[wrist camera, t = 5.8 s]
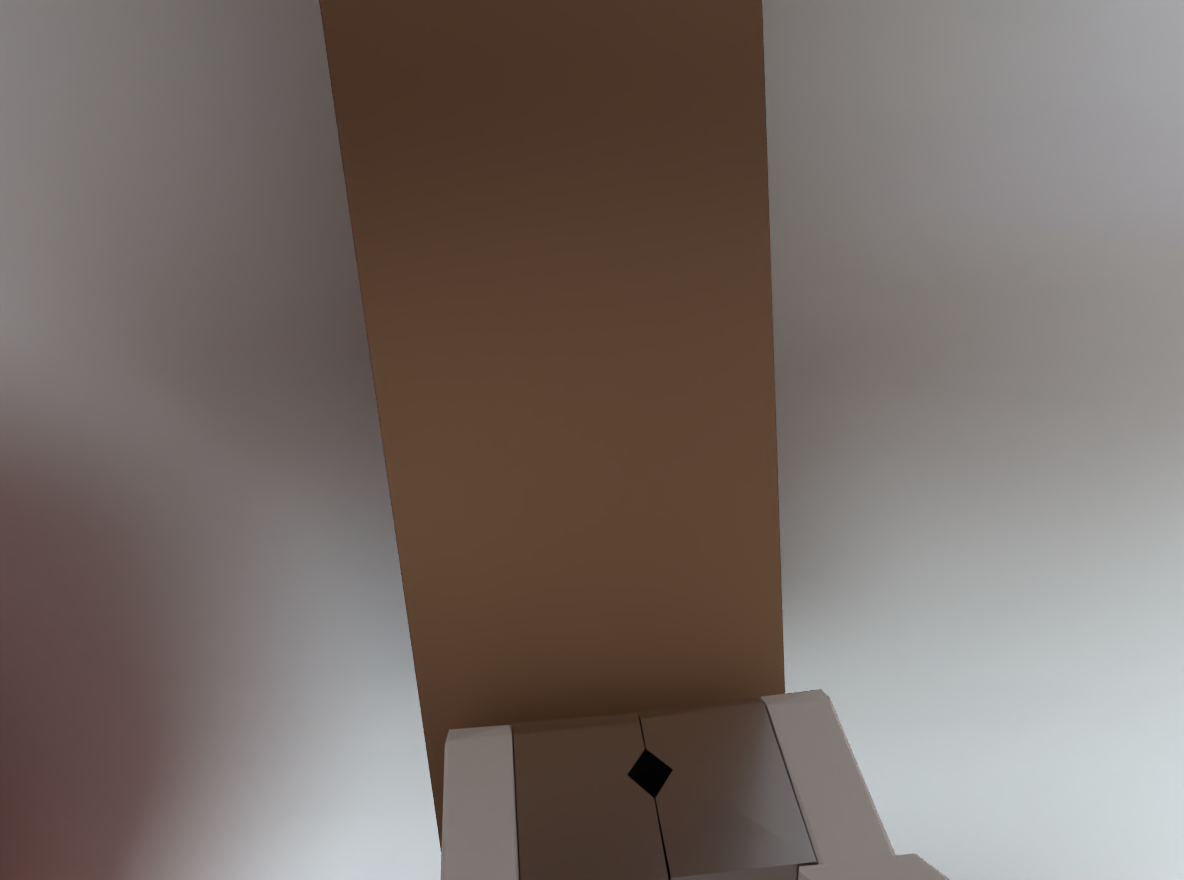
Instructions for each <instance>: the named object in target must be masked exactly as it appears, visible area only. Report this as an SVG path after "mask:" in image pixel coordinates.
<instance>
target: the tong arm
mask: <svg viewBox="0 0 1184 880" xmlns="http://www.w3.org/2000/svg"><path fill="white" fill-rule="evenodd" d="M319 2H320V9H321V16H322V23H323V30H324V37H325V44H326V51H327V58H328V65H329V72H330V79H331V86H332V93H333V100H334V107H335V114H336V121H337V128H338V135H339V142H340V149H341V156H342V163H343V170H344V177H345V184H346V191H347V198H348V205H349V212H350V219H351V226H352V232H353V239H354V246H355V253H356V260H357V267H358V274H359V281H360V288H361V295H362V302H363V309H364V316H365V323H366V330H367V337H368V344H369V351H370V358H371V365H372V372H373V379H374V386H375V393H376V400H377V407H378V414H379V421H380V428H381V435H382V442H383V449H384V456H385V463H386V470H387V477H388V484H389V491H390V498H391V505H392V512H393V519H394V526H395V533H396V540H397V547H398V554H399V561H400V568H401V575H402V582H403V589H404V596H405V603H406V610H407V617H408V624H409V631H410V638H411V645H412V652H413V658H414V665H415V672H416V679H417V686H418V693H419V700H420V707H421V714H422V721H423V728H424V735H425V742H426V749H427V756H428V763H429V770H430V777H431V784H432V791H433V798H434V805H435V812H436V819H437V826H438V833H439V840H440V847H441V853H442V820H443V788H444V756H445V743H446V739H447V736H448V732H449V729H462V728H474V727H487V726H500V725H512V726H513V730H514V723H518V722H530V721H541V720H553V719H565V718H577V717H589V716H601V715H612V714H624V713H636V712H637V711H646V710H654V709H663V708H671V707H679V706H688V705H696V704H705V703H713V702H722V701H730V700H738V699H747V698H757V699H759V698H760V697H762V696H770V695H778V694H785V681H784V651H783V620H782V590H781V560H780V530H779V500H778V469H777V439H776V409H775V379H774V349H773V318H772V288H771V258H770V228H769V198H768V167H767V137H766V107H765V77H764V47H763V17H762V0H319Z"/></svg>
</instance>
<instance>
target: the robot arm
mask: <svg viewBox="0 0 1184 880" xmlns="http://www.w3.org/2000/svg"><path fill="white" fill-rule="evenodd" d="M441 880H950V879H948V878H947V877H946V876H944V875H943V874H942V873H940V872H939V871H938V870H936V869H935V868H934V867H932V866H931V865H930V864H928V863H927V862H926V861H924V860H923V859H922V858H920V857H919V856H918V855H917V854H905V855H895V853H894V850H893V848H892V846H891V843H890V841H889V838H888V836H887V834H886V831H885V829H884V827H883V824H882V822H881V819H880V817H879V815H878V812H877V810H876V807H875V805H874V803H873V800H872V798H871V795H870V793H869V791H868V788H867V786H866V783H865V781H864V779H863V776H862V774H861V771H860V769H859V767H858V764H857V762H856V759H855V757H854V755H853V752H852V750H851V748H850V745H849V743H848V740H847V738H846V736H845V733H844V731H843V728H842V726H841V724H840V721H839V719H838V716H837V714H836V712H835V709H834V707H833V704H832V702H831V700H830V698H829V697H828V696H827V695H826V694H825V693H824V692H823V691H822V690H821V689H820V690H811V691H803V692H795V693H786V694H778V695H770V696H762V697H760V698H759V699H757V698H747V699H738V700H730V701H722V702H713V703H705V704H696V705H688V706H679V707H671V708H663V709H654V710H646V711H637V712H636V713H624V714H612V715H601V716H589V717H577V718H565V719H553V720H541V721H530V722H518V723H514V730H513V726H512V725H500V726H487V727H474V728H462V729H449V732H448V736H447V739H446V743H445V756H444V788H443V820H442V853H441Z"/></svg>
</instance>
